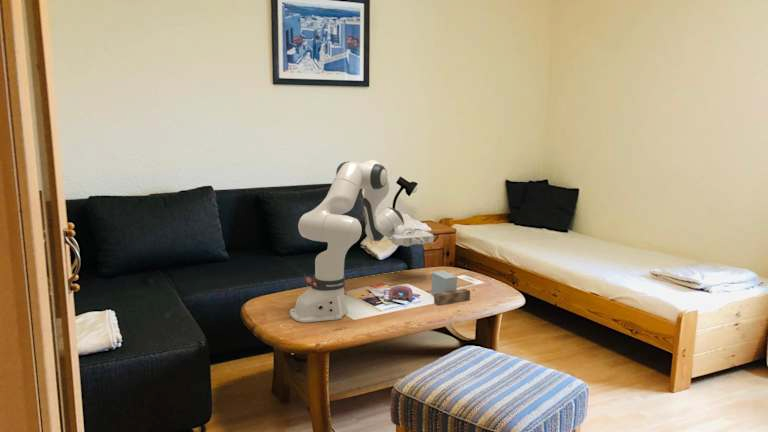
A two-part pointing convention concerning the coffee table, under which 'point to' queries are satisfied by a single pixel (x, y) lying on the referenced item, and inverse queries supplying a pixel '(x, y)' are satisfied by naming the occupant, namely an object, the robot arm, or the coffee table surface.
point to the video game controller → (400, 289)
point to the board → (451, 297)
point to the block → (443, 282)
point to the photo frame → (469, 279)
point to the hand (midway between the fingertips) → (421, 242)
